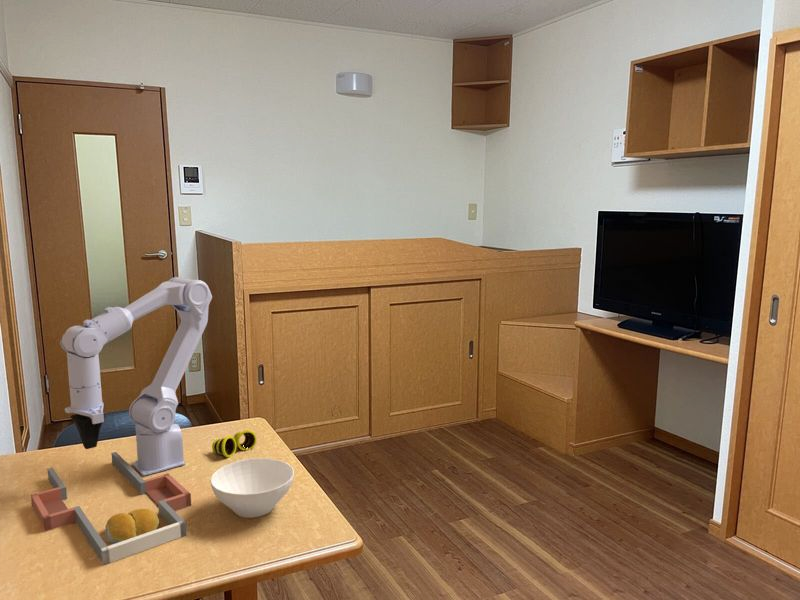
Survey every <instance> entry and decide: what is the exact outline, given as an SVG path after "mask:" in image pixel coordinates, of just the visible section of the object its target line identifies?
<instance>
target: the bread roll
mask: <svg viewBox="0 0 800 600" xmlns="http://www.w3.org/2000/svg"><path fill="white" fill-rule="evenodd" d="M105 524H106V525H105V530H104V535H105V538H106V540H107V542H108V543H109V544H112V545H113V544H116V543H119V542H122V541H125V540H128V539H130V538H133V537H136V536H139V535H142V534H145V533H148V532H151V531H154V530H157V529H158V527H159V526H160V525H159V524H160V519H159V517H158V515H157V513H156V512H155V511H154V510H152V509H149V508H138V509H133V510H130V511H129V512H128V513H124V512H123V513H121V512H120V513H116V514H113V515H112V516H111V517H109V519H108V520H107V522H106V523H105Z"/></svg>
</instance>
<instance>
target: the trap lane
mask: <svg viewBox="0 0 800 600" xmlns="http://www.w3.org/2000/svg"><path fill="white" fill-rule="evenodd" d="M111 463H112V465H113V466H114V467H115V468H116V469H117V470H118V471H119V472H120V473H121V475H122V476H123V477H124V478H125V479H126V480H127V481H128V482H129V483H130V484H131V485H132V486H133V488H135V489H136V491H138V493H140V495H141V496H142V495H146V494H147V496H148V497H150V499H151V500H152V501H153V502H154V503H155V504H156V505H157V506H158V514H159V516H161V518H162V519H163V520H165V522H166V523H167V524H168V525H166V526H163V527H160V528H157V529H156V530H154V531H151V532H148V533H145V534H142V535H139V536H136V537H133V538H130V539H128V540H125V541H122V542H119V543H116V544H113V543H112V544H110V545H108V546H107V544H106V542H105V541H104V540H103V538H102V537H101V536H100V534H99V533H98V531H97V530H96V528H95V527H94V525H93V524H92V522H91V521H90V519H89V518H88V516H86V514H85V512H84V510H83V509H81V506H80V505H78V506H74V507H70V508H68V507H67V506H66V504H65V502H64V500H67V499H68V495H67V494H68V493H67V486H66V485H65V483H64V482H63V481H62V479H61V478H60V476H59V475H58V473H57V472H56V470H55V469H54V467H48V468H46V469H47V480H48V482H49V483H50V484H51V486H52V488H51V489H47V490H43V491H39V492H36V493H32V494H30V499H31V506H32V508H33V511H34V513H35V514H36V517H37V518H38V520H39V523H41V526H42V528H43V530H44V531H45V532H48V531H51V530H53V529H56V528H60V527H64V526H67V525H70V523H71V524H74V523H76V525H77V526H78V528H79V530H80V531H81V532H82V535H83V536H84V538H85V539H86V540H87V542H88V544H89V545H90V547H91V549H92V550H93V551H94V553H95V554H96V556H97V557H98V560H99V561H100V562H101V563H102V565H103V566H105V565H108V564H110V563H114V562H115V561H116V562H117V561H118V560H121V559H125V558H127V557H130V556H133V555H136V554H138V553H141V552H143V551H146V550H149V549H152V548H155V547H157V546H158V547H159V546H161V545H164V544H165V543H168V542H172V541H174V540H177V539H180V538H183V537H185V536H187V523H186V521H185V520H184V518H182V517H181V516H180V515H179V514H178V513H177V512H176V511H179V510H182V509H185V508H187V507H192V494H191V493H190V492H189V491H188V490H187V489H186V488H185V487H184V486H183V485H181V483H179V482H178V481H177V480H176V479H175V478H174V477H173V476H172V475H171V474H170V473H165V474H161V475H157V476H155V477H150V478H148V479H143V478H142V477H141V476H140V474H138V472H137V471H135V468H134V467H133V466H131V465H130V464H129V463H128V462H127V461H125V459H124V458H123V457H122V456H121V455H120V454H119V453H118V452H117V451H113V452H111ZM73 522H74V523H73Z"/></svg>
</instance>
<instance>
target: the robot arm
mask: <svg viewBox="0 0 800 600" xmlns="http://www.w3.org/2000/svg"><path fill="white" fill-rule="evenodd" d="M212 299H213V295H212V292H211V290H210V288H209V285H208V284H207V283H206V282H205V281H203V280H200V279H188V278H183V277H181V276H174V277H172V278H170V279H168V280H167V281H164V282H161V284H159V285H158V286H157V287H155V288H154V289H152V290H151V291H149V292H147V293H146V294H144V295H143V296H141V297H140V298H138V299H136V300H135V301H133V302H132V303H130V304H128V305H127V306H125V307H124V308H123V307H121V306H114V307H112V306H107V307H106V308H105V307H104V309H103V310H104V312H103V313H101V314H98V315H97V316H95V317H93V318H91V319H85V320H83V324H82V325H74V326H73V325H72V326H70V327H68V328H67V329H66V331H65V333H63V334H62V337H61V340H59V343H60V347H61V348H62V349H63V351H65V352H66V358H67V360H66V361H67V372H68V386H69V397H70V406H68V407H65V408H64V412H65V413H66V414H72V413H73V414H72V415H70V419H71V420H72V422H73V423H74V425H75V426H76V429H77V431H78V433H79V436H80V439H81V443H82V446H83V447H84V449H85V450H89V449H94V448H97V446H98V442H99V436H100V430H101V427H102V425H103V423H104V422H105V419H106V415H105V414H104V405H105V404H104V402H103V395H102V394H103V393H102V384H101V383H102V381H101V367H100V359H99V357H100V355H99V354H100V352H102V349H103V348H104V346H105V345H106V344H108V343H110V342H111V341H113V340H114V339H116V338H118V337H120V336H121V335H123V334H124V333H126V332H128V331H130V330H131V329H132V327H133V323H134V321H136V320H138V319H140V318H142V317H144V316H146V315H148V314H150V313H152V312H154V311H156V310H157V309H160V308H162V307H164V306H166V305H167V306H172V307H173V308H174V309H175V310H176V311H177V314H178V317H179V318H180V320H181V321H180V324H179V325H178V327H177V330H176V332H175V334H174V336H173V338H172V340H171V343H170V345H169V347H168V349H167V351H166V353H165V355H164V357H163V359H162V362H161V364H160V366H159V367H158V370H157V371H156V374H155V377H154V378H153V380H152V382H151V383H150V384H149V385H148V386H146V387H144V388H143V389H141V392H140V394H139V396H137V397H136V399H135V400H133V401H132V402H131V404H130V406H129V409H128V414H129V415H128V416H129V419H130V420H131V421H132V422H134V425H135V439H136V440H135V441H136V457H137V460H136V461H133V462H132V463H131V465H132V467H133V468H134V469H135V470H137V471H138V472H139V473H140V475H142V476H143V477H145V476H149V475H152V474H156V473H159V472H163V471H166V470H169V469H174V468H177V467H180V466H184V465H186V462H185V460H184V459H185V458H184V440H183V439H184V438H183V433H182V430H181V429H182V428H180V426H179V424H178V423H174V422H175V419H176V410H177V407H178V405H179V400H178V398H177V394H176V391H177V389H178V387H179V385H180V383H181V380H182V378H183V377H184V374H185V372H186V370H187V368H188V366H189V364H190V361H191V359H192V357H193V354H194V352H195V351H196V348H197V347H198V344H199V343H200V342H199V341H200V340H201V337H202V336H203V333H204V331H205V329H206V327H207V324H208V320H209V306H210V303H211V301H212Z"/></svg>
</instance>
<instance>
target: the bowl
mask: <svg viewBox="0 0 800 600" xmlns="http://www.w3.org/2000/svg"><path fill="white" fill-rule="evenodd" d="M294 477H295V470H294V468H293V466H291V465H290V464H289V463H287V462H286V461H282V460H279V459H275V458H270V457H269V458H264V457H258V458H246V459H242V460H237V461H234V462H230V463H227V464H226V465H224V466H222V467H219V468H217V469H216V470H215V471H214V472H213V474H211V476H210V480H209V481H210V486H211V489H212V492H213V495H215V497H216V498H217V499H218V500H219V501H220V502H221V503H222V504H224V505H225V506H227V507H228V508H229V509H230V510H231V511H233V512H234V514H236V515H237V516H239V517H241V518H247V519H248V518H249V519H253V518H260V517H264V516H265V515H267V514H268V513H270V512H271V511H273V509H274V507H276V505H277V504H278V503H279V502H280V500H282V499H283V498H284V497H285V495H286V494H287V493H288V491H289V490H290V488H291V486H292V484H293V483H294V480H295V479H294Z"/></svg>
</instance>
